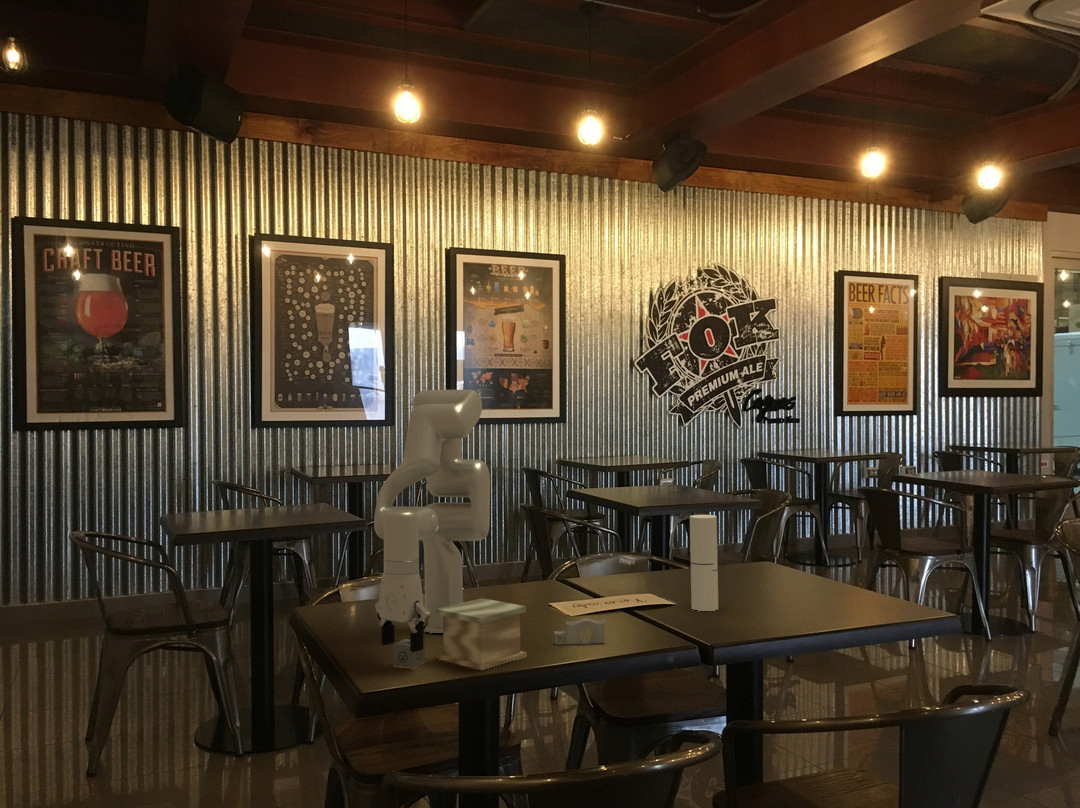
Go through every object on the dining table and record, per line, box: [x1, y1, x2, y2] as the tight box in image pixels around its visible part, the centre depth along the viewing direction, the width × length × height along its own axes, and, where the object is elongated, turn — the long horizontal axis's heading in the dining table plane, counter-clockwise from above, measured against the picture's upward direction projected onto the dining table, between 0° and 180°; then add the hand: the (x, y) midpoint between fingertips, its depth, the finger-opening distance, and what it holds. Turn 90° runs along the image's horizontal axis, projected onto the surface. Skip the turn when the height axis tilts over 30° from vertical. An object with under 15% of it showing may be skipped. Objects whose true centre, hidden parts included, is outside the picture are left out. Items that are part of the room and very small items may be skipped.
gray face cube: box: [392, 638, 426, 668], centre depth 194 cm, size 5×5×5 cm
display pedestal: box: [436, 597, 528, 672], centre depth 198 cm, size 14×14×11 cm
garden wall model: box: [553, 617, 607, 645], centre depth 209 cm, size 12×2×6 cm, turn 92°
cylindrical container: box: [689, 514, 719, 612], centre depth 242 cm, size 7×7×25 cm
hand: (402, 647), depth 194 cm, fingers open, 9 cm apart
